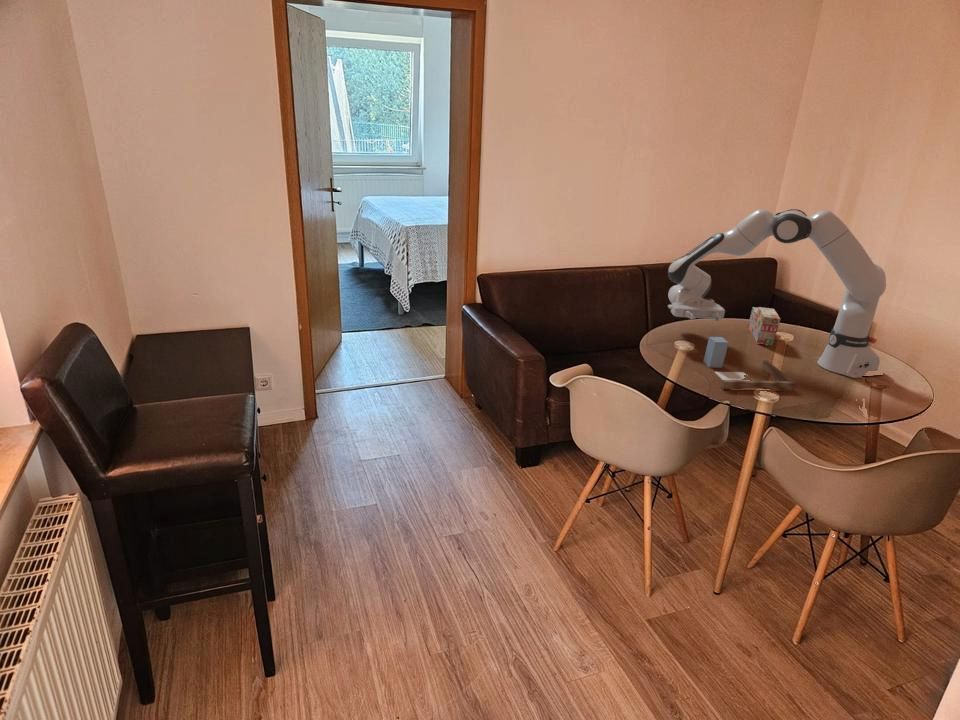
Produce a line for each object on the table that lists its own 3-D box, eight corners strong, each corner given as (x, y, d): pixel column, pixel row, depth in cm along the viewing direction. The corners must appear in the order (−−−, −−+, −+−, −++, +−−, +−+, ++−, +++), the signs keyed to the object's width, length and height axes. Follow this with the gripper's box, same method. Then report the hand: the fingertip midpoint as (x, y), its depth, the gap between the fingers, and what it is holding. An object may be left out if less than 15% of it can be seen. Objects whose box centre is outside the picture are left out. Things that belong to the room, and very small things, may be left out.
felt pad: (743, 373, 217) (743, 372, 217) (759, 386, 207) (759, 386, 207) (714, 372, 216) (714, 371, 216) (728, 386, 206) (729, 385, 206)
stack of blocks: (747, 326, 264) (754, 300, 259) (762, 328, 263) (769, 302, 258) (756, 344, 245) (764, 316, 240) (772, 346, 244) (780, 318, 239)
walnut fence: (765, 367, 223) (767, 360, 222) (793, 391, 206) (796, 383, 205) (699, 366, 220) (701, 358, 219) (722, 389, 203) (725, 381, 202)
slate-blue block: (716, 361, 225) (722, 337, 221) (722, 367, 221) (728, 342, 217) (703, 361, 225) (709, 336, 220) (709, 367, 220) (715, 342, 216)
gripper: (667, 297, 238) (681, 309, 226) (716, 299, 240) (732, 311, 228) (664, 312, 241) (677, 324, 228) (712, 314, 243) (728, 327, 231)
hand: (705, 318), depth 228 cm, fingers open, 8 cm apart
